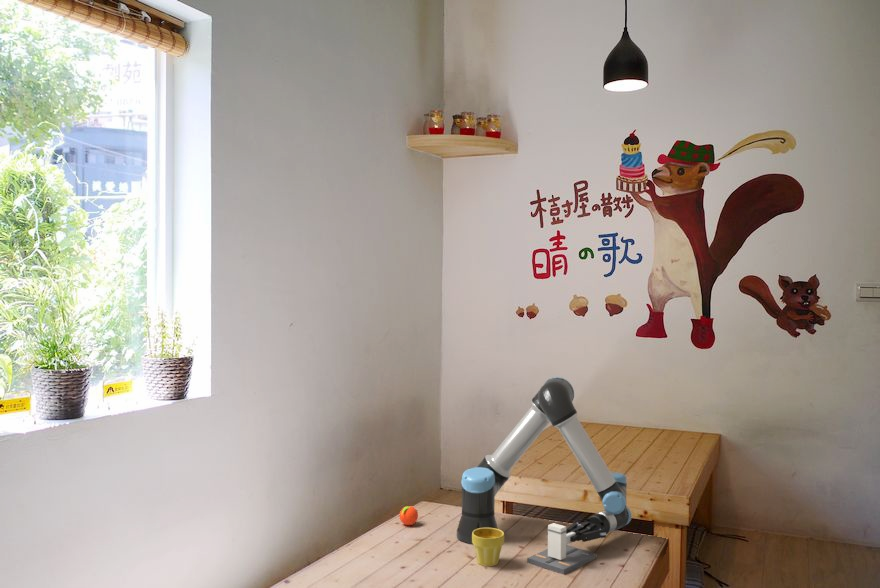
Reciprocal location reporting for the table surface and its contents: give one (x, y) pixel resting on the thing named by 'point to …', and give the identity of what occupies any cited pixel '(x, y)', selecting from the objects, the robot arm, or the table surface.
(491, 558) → the plant pot
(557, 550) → the cap
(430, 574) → the table surface
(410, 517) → the clementine
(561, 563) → the fader board
